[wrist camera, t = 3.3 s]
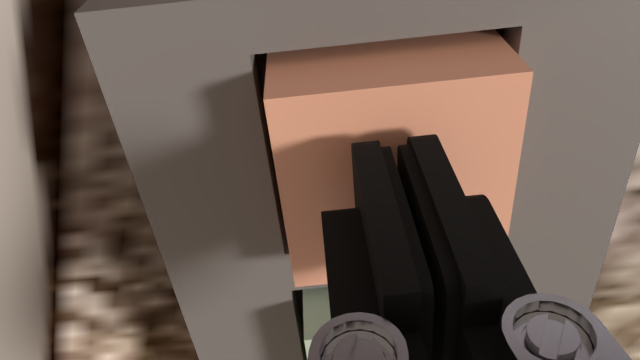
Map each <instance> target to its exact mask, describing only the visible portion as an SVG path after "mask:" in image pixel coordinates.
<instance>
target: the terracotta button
mask: <svg viewBox="0 0 640 360" xmlns="http://www.w3.org/2000/svg"><path fill="white" fill-rule="evenodd" d="M533 72H534V71H533V70H532V69H531V68H530V67H529V66H528V65H527V64H526V63H525V62H524V60H523V59H522V58H521V57H520V56H519V55H518V54H517V53H516V52H515V51H514V50H513V49H512V48H511V46H510V45H509V44H508V43H507V42H506V41H505V40H504V39H503V38H502V37H501V36H500V35H499V34H498V32H497V31H496V30H495V29H490V30H480V31H471V32H461V33H452V34H442V35H433V36H424V37H414V38H405V39H395V40H386V41H376V42H367V43H357V44H348V45H338V46H329V47H319V48H310V49H301V50H291V51H282V52H272V53H267V62H266V74H265V86H264V98H263V100H264V106H265V112H266V118H267V124H268V130H269V136H270V142H271V148H272V154H273V160H274V165H275V171H276V177H277V183H278V189H279V195H280V201H281V207H282V213H283V219H284V225H285V231H286V236H287V242H288V248H289V254H290V260H291V266H292V272H293V278H294V284H295V287H303V286H313V285H323V284H328V283H327V273H326V262H325V251H324V240H323V229H322V219H321V211H330V210H339V209H348V208H355V198H354V183H353V168H352V153H351V143H356V142H366V141H375V140H379V142H380V145H381V147H387V146H390V147H391V150H392V153H393V156H394V159H395V162H396V166H397V148H398V145H405V144H407V138H408V137H412V136H422V135H431V134H436V135H437V136H438V138H439V140H440V142H441V144H442V147H443V149H444V151H445V153H446V155H447V157H448V159H449V162H450V164H451V166H452V168H453V170H454V172H455V175H456V177H457V179H458V181H459V183H460V185H461V187H462V190H463V192H464V194H465V196H471V195H480V194H483V195H485V196H486V197H487V198H488V199H489V201H490V203H491V205H492V207H493V209H494V211H495V212H496V214H497V216H498V218H499V220H500V222H501V224H502V226H503V228H504V230H505V232H506V234H507V236H508V234H509V228H510V221H511V215H512V208H513V202H514V196H515V189H516V183H517V176H518V170H519V163H520V157H521V150H522V144H523V137H524V131H525V124H526V118H527V111H528V105H529V98H530V92H531V85H532V79H533Z"/></svg>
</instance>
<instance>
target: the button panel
mask: <svg viewBox="0 0 640 360" xmlns="http://www.w3.org/2000/svg"><path fill="white" fill-rule="evenodd" d="M74 15H75V18H76V21H77V24H78V26H79V29H80V32H81V35H82V38H83V40H84V43H85V46H86V49H87V51H88V54H89V57H90V60H91V62H92V65H93V68H94V71H95V74H96V76H97V79H98V82H99V85H100V87H101V90H102V93H103V96H104V98H105V101H106V104H107V107H108V109H109V112H110V115H111V118H112V121H113V123H114V126H115V129H116V132H117V134H118V137H119V140H120V143H121V145H122V148H123V151H124V154H125V156H126V159H127V162H128V165H129V168H130V170H131V173H132V176H133V179H134V181H135V184H136V187H137V190H138V192H139V195H140V198H141V201H142V203H143V206H144V209H145V212H146V215H147V217H148V220H149V223H150V226H151V228H152V231H153V234H154V237H155V239H156V242H157V245H158V248H159V250H160V253H161V256H162V259H163V262H164V264H165V267H166V270H167V273H168V275H169V278H170V281H171V284H172V286H173V289H174V292H175V295H176V297H177V300H178V303H179V306H180V309H181V311H182V314H183V317H184V320H185V322H186V325H187V328H188V331H189V333H190V336H191V339H192V342H193V344H194V347H195V350H196V353H197V356H198V358H199V360H307V355H306V349H305V343H304V322H303V289H313V288H323V287H328V284H323V285H313V286H303V287H295V284H294V278H293V272H292V266H291V260H290V254H289V248H288V242H287V236H286V231H285V225H284V219H283V213H282V207H281V201H280V195H279V189H278V183H277V177H276V171H275V165H274V160H273V154H272V148H271V142H270V136H269V130H268V124H267V118H266V112H265V106H264V100H263V98H264V86H265V74H266V62H267V53H272V52H282V51H291V50H301V49H310V48H319V47H329V46H338V45H348V44H357V43H367V42H376V41H386V40H395V39H405V38H414V37H424V36H433V35H442V34H452V33H461V32H471V31H480V30H490V29H495V30H496V31H497V32H498V34H499V35H500V36H501V37H502V38H503V39H504V40H505V41H506V42H507V43H508V44H509V45H510V46H511V48H512V49H513V50H514V51H515V52H516V53H517V54H518V55H519V56H520V57H521V58H522V59H523V60H524V62H525V63H526V64H527V65H528V66H529V67H530V68H531V69H532V70H533V71H534V72H533V79H532V85H531V92H530V98H529V105H528V111H527V118H526V124H525V131H524V137H523V144H522V150H521V157H520V163H519V170H518V176H517V183H516V189H515V196H514V202H513V208H512V215H511V221H510V228H509V234H508V238H509V239H510V241H511V243H512V245H513V247H514V249H515V251H516V253H517V255H518V257H519V259H520V261H521V263H522V265H523V266H524V268H525V270H526V272H527V274H528V276H529V278H530V280H531V282H532V284H533V286H534V288H535V290H536V291H537V293H547V294H555V295H560V296H563V297H565V298H568V299H571V300H574V301H576V302H577V303H579V304H581V305H582V306H584V307H586V308H587V309H589V307H590V304H591V301H592V297H593V294H594V291H595V288H596V284H597V281H598V278H599V274H600V271H601V268H602V265H603V261H604V258H605V255H606V251H607V248H608V245H609V242H610V238H611V235H612V232H613V228H614V225H615V222H616V219H617V215H618V212H619V209H620V205H621V202H622V199H623V195H624V192H625V189H626V186H627V182H628V179H629V176H630V172H631V169H632V166H633V163H634V159H635V156H636V153H637V149H638V146H639V143H640V0H87V1H86V2H85V3H84V4H83V5H82V6H81V7H80V8H79V9H78V10H77V11H76V12H75V13H74Z"/></svg>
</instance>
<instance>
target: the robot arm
mask: <svg viewBox="0 0 640 360" xmlns="http://www.w3.org/2000/svg"><path fill="white" fill-rule="evenodd" d="M351 153H352V168H353V183H354V198H355V208H348V209H339V210H330V211H321V219H322V229H323V240H324V251H325V262H326V273H327V283H328V294H329V305H330V316H331V320H329V321H328V322H327V323H325V324H324V325H323V326H321V327H320V329H319V330H318V331H317V333H316V334H315V335H314V337H313V338H312V341H311V345H310V348H309V352H308V360H632V359H631V358H630V357H629V355H628V354H627V353H626V352H625V351H624V349H623V348H622V347H621V346H620V344H619V343H618V342H617V341H616V339H615V338H614V337H613V336H612V335H611V333H610V332H609V331H608V330H607V328H606V327H605V326H604V325H603V324H602V322H601V321H600V320H599V319H598V318H597V317H596V316H595V315H594V314H593V313H592V312H591V311H590V310H589V309H587V308H586V307H584V306H582V305H581V304H579V303H577V302H576V301H574V300H571V299H568V298H565V297H563V296H560V295H555V294H547V293H537V291H536V290H535V288H534V286H533V284H532V282H531V280H530V278H529V276H528V274H527V272H526V270H525V268H524V266H523V265H522V263H521V261H520V259H519V257H518V255H517V253H516V251H515V249H514V247H513V245H512V243H511V241H510V239H509V238H508V236H507V234H506V232H505V230H504V228H503V226H502V224H501V222H500V220H499V218H498V216H497V214H496V212H495V211H494V209H493V207H492V205H491V203H490V201H489V199H488V198H487V197H486V196H485V195H483V194H480V195H471V196H465V194H464V192H463V190H462V187H461V185H460V183H459V181H458V179H457V177H456V175H455V172H454V170H453V168H452V166H451V164H450V162H449V159H448V157H447V155H446V153H445V151H444V149H443V147H442V144H441V142H440V140H439V138H438V136H437V135H436V134H431V135H422V136H412V137H408V138H407V144H405V145H398V148H397V166H396V162H395V159H394V156H393V153H392V150H391V147H390V146H387V147H381V145H380V142H379V140H375V141H366V142H356V143H351Z"/></svg>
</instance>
